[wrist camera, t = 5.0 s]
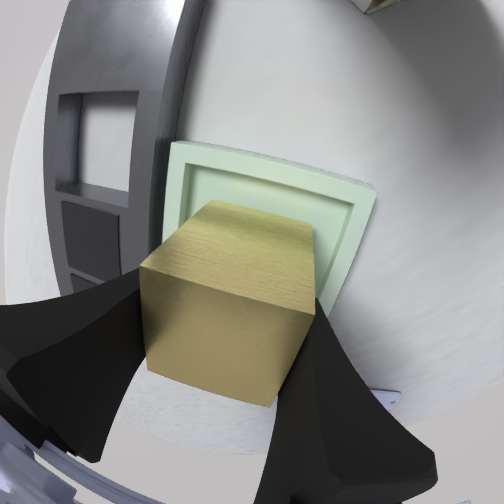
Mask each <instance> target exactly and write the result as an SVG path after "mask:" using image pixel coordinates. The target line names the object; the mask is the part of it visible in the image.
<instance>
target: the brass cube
mask: <svg viewBox="0 0 504 504" xmlns="http://www.w3.org/2000/svg"><path fill="white" fill-rule="evenodd" d="M139 273H140V296H141V311H142V324H143V335H144V344H145V353H146V361H147V368H148V370H149V371H151V372H154V373H156V374H159V375H162V376H164V377H167V378H170V379H172V380H175V381H178V382H181V383H184V384H186V385H189V386H192V387H195V388H198V389H202V390H205V391H208V392H211V393H215V394H218V395H221V396H225V397H229V398H232V399H236V400H240V401H244V402H248V403H252V404H256V405H260V406H265V407H269V408H270V406H271V405H272V403H273V401H274V399H275V397H276V395H277V393H278V391H279V390H280V388H281V386H282V384H283V382H284V380H285V378H286V376H287V374H288V372H289V370H290V368H291V366H292V364H293V362H294V360H295V358H296V356H297V353H298V351H299V349H300V347H301V345H302V343H303V341H304V339H305V336H306V334H307V332H308V330H309V328H310V325H311V323H312V321H313V319H314V316H315V280H314V253H313V234H312V224H310V223H307V222H303V221H299V220H296V219H292V218H288V217H284V216H281V215H277V214H273V213H269V212H265V211H261V210H257V209H253V208H249V207H245V206H241V205H237V204H232V203H228V202H224V201H220V200H215V199H211V200H210V201H209V202H208V203H206V204H205V205H204V206H203V207H202V208H201V209H200V210H198V211H197V212H196V213H195V214H194V215H193V216H192V217H191V218H189V219H188V220H187V221H186V222H185V223H184V224H183V225H182V226H181V227H179V228H178V229H177V230H176V231H175V232H174V233H173V234H172V235H171V236H170V237H169V238H167V239H166V240H165V241H164V242H163V243H162V244H161V245H160V246H159V247H158V248H157V249H156V250H155V251H154V252H153V253H152V254H150V255H149V256H148V257H147V258H146V259H145V260H144V261H143V262H142V263H141V264H140V265H139Z"/></svg>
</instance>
